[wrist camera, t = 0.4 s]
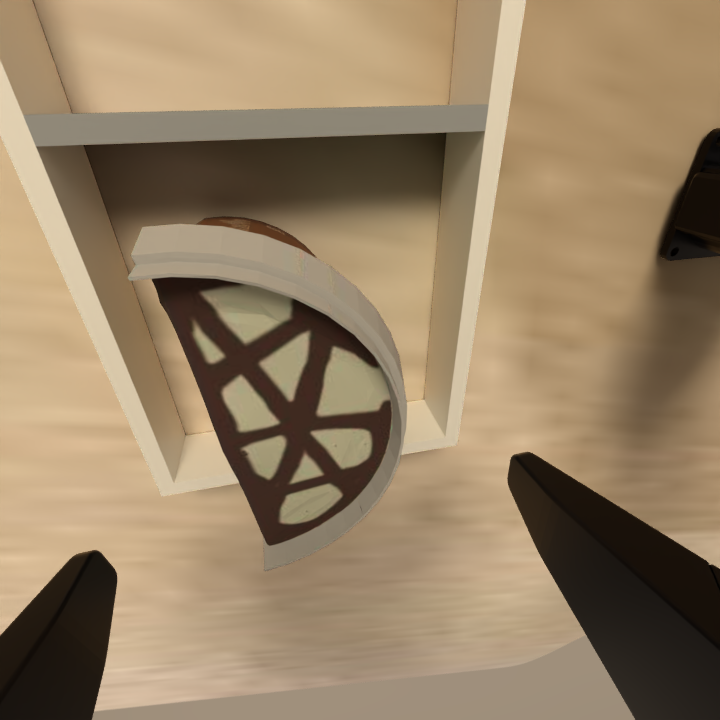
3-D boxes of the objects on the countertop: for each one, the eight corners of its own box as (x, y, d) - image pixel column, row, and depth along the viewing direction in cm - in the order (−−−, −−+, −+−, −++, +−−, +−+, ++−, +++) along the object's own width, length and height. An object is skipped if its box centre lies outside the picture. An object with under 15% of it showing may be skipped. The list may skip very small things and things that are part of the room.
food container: (369, 387, 23) (427, 536, 15) (266, 409, 23) (268, 579, 14) (340, 158, 17) (416, 200, 8) (192, 180, 16) (114, 251, 8)
